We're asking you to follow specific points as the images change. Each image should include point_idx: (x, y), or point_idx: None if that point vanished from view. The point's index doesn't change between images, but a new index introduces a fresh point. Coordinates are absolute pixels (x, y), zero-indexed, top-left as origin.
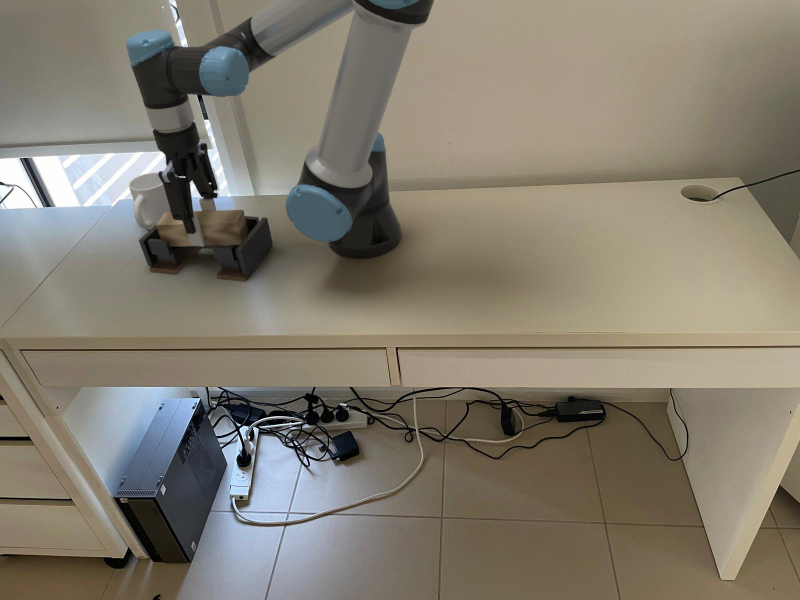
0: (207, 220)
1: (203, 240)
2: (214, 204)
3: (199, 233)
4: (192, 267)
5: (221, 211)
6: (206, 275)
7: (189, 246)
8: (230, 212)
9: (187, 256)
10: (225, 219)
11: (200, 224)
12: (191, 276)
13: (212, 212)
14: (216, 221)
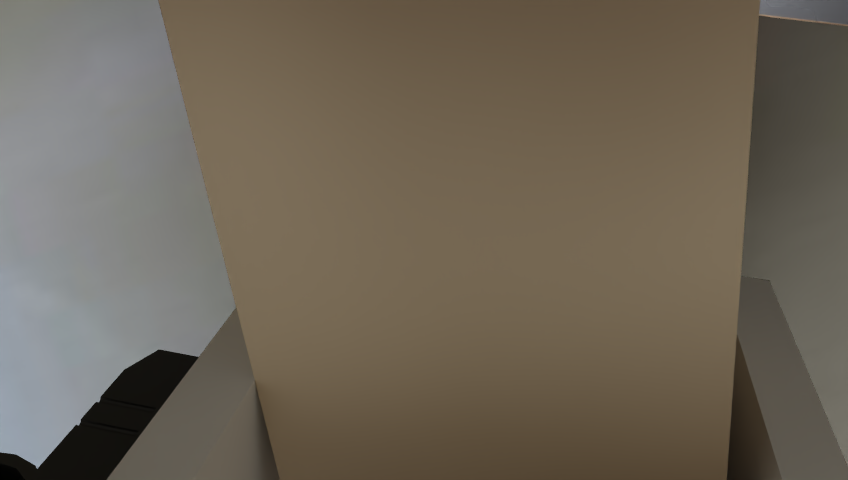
0: (606, 396)
1: (748, 313)
2: (95, 417)
3: (819, 409)
4: None
5: (260, 241)
6: (829, 157)
7: None
8: (264, 43)
9: None
10: (583, 47)
11: (726, 471)
12: (824, 283)
13: (318, 384)
14: (665, 221)
